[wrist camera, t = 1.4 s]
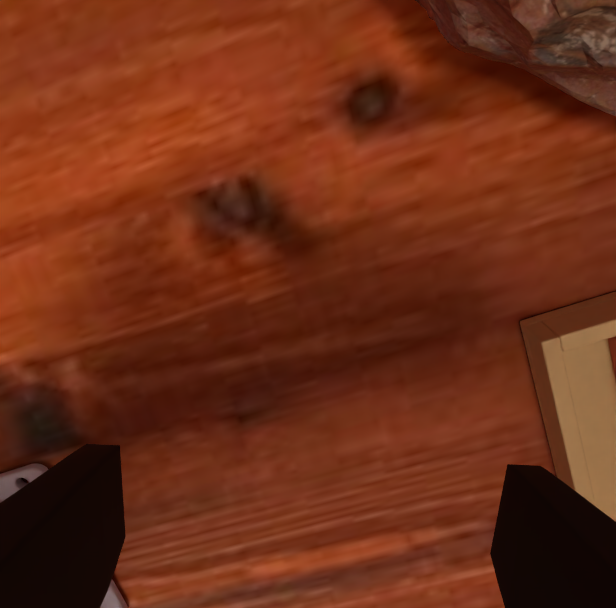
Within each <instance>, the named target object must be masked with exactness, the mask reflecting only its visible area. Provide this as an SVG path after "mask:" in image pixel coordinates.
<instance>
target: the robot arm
mask: <svg viewBox="0 0 616 608" xmlns="http://www.w3.org/2000/svg"><path fill="white" fill-rule="evenodd" d="M21 478H24V479H26V480H27V481H28V482H29V483H26V482H24V481H23V480H22V479H21ZM124 539H125V521H124V505H123V489H122V473H121V457H120V445H99V444H86V445H84V446H83V447H81V448H79V449H78V450H76V451H75V452H73V453H72V454H70V455H69V456H67V457H66V458H64V459H63V460H62V461H60V462H59V463H57V464H56V465H54V466H53V467H52V468H50V469H48V468H47V467H46V466H44V465H42V464H38V463H36V464H30V465H27V466H24V467H21V468H17V469H14V470H11V471H8V472H5V473H1V474H0V608H128V606H127V604H126V602H125V600H124V599H123V597H122V595H121V593H120V592H119V590H118V588H117V586H116V585H115V583H114V581H113V580H112V577H113V574H114V571H115V568H116V565H117V562H118V559H119V555H120V552H121V549H122V546H123V543H124ZM490 554H491V558H492V562H493V566H494V569H495V573H496V577H497V581H498V585H499V588H500V591H501V595H502V598H503V602H504V605H505V608H616V522H615V521H614V520H613V519H612V518H610V517H609V516H608V515H606V514H605V513H604V512H602V511H601V510H600V509H598V508H597V507H596V506H594V505H593V504H592V503H590V502H589V501H588V500H587V499H585V498H584V497H583V496H581V495H580V494H579V493H577V492H576V491H575V490H573V489H572V488H571V487H569V486H568V485H567V484H565V483H564V482H563V481H561V480H560V479H559V478H557V477H556V476H554V475H553V474H552V473H550V472H549V471H547V470H546V469H544V468H543V467H541V466H530V465H510V464H508V465H507V470H506V475H505V481H504V486H503V491H502V496H501V501H500V506H499V511H498V517H497V522H496V527H495V532H494V537H493V542H492V548H491V553H490Z"/></svg>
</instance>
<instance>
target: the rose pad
mask: <svg viewBox="0 0 616 608" xmlns="http://www.w3.org/2000/svg"><path fill="white" fill-rule="evenodd" d="M608 342H609V348H610V353H611V358H612V363H613V369H614V374H615V379H616V336H615V337H612V338H609V339H608Z"/></svg>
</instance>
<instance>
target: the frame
mask: <svg viewBox="0 0 616 608" xmlns="http://www.w3.org/2000/svg"><path fill="white" fill-rule="evenodd" d="M520 326H521V330H522V334H523V338H524V342H525V347H526V351H527V355H528V359H529V363H530V367H531V371H532V376H533V380H534V384H535V388H536V392H537V396H538V400H539V405H540V409H541V413H542V417H543V421H544V425H545V429H546V434H547V438H548V442H549V446H550V450H551V454H552V458H553V463H554V467H555V471H556V475H557V478H559V479H560V480H561V481H563V482H564V483H565V484H567V485H568V486H569V487H571V488H572V489H573V490H575V491H576V492H577V493H579V494H580V495H581V496H583V497H584V498H585V499H587V500H588V501H589V502H590V503H592V504H593V505H594V506H596V507H597V508H598V509H600V510H601V511H602V512H604V513H605V514H606V515H608V516H609V517H610V518H612V519H613V520H614V521H615V522H616V379H615V374H614V369H613V363H612V358H611V353H610V348H609V342H608V339H609V338H612V337H615V336H616V291H615V292H612V293H609V294H606V295H602V296H599V297H596V298H593V299H589V300H586V301H583V302H580V303H576V304H573V305H570V306H567V307H563V308H560V309H557V310H554V311H551V312H547V313H544V314H541V315H538V316H534V317H531V318H528V319H525V320H521V321H520Z"/></svg>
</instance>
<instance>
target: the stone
mask: <svg viewBox="0 0 616 608" xmlns="http://www.w3.org/2000/svg"><path fill="white" fill-rule="evenodd" d="M415 1H416V2H418V3H419V4H420V5H421V6H422V7H423V8H425V9H426V11H427V13H428V16H429V18H431V19H432V20H434V21H435V22H436V25H437V27H438V29H439V31H440V32H441V34H442V35H443V36H444V38H445V39H446V40H447V41H448V42H449V43H450V44H451V45H453V46H454V47H455V48H456V49H458V50H460V51H463V52H466V53H470V54H474V55H477V56H479V57H482V58H485V59H488V60H492V61H498V62H503V63H508V64H512V65H514V66H515V67H517V68H522V69H524V70H526V71H527V72H529V73H531V74H533V75H535V76H537V77H539V78H541V79H542V80H544V81H545V82H547V83H548V84H550V85H552V86H554V87H556V88H558V89H560V90H561V91H563V92H564V93H566V94H568V95H570V96H573V97H574V98H576V99H577V100H579V101H581V102H583V103H586V104H588V105H590V106H592V107H594V108H597V109H599V110H601V111H604V112H606V113H608V114H611V115H614V116H616V0H415Z"/></svg>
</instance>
